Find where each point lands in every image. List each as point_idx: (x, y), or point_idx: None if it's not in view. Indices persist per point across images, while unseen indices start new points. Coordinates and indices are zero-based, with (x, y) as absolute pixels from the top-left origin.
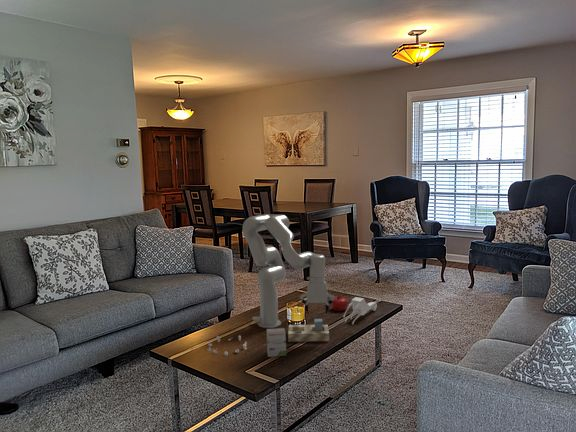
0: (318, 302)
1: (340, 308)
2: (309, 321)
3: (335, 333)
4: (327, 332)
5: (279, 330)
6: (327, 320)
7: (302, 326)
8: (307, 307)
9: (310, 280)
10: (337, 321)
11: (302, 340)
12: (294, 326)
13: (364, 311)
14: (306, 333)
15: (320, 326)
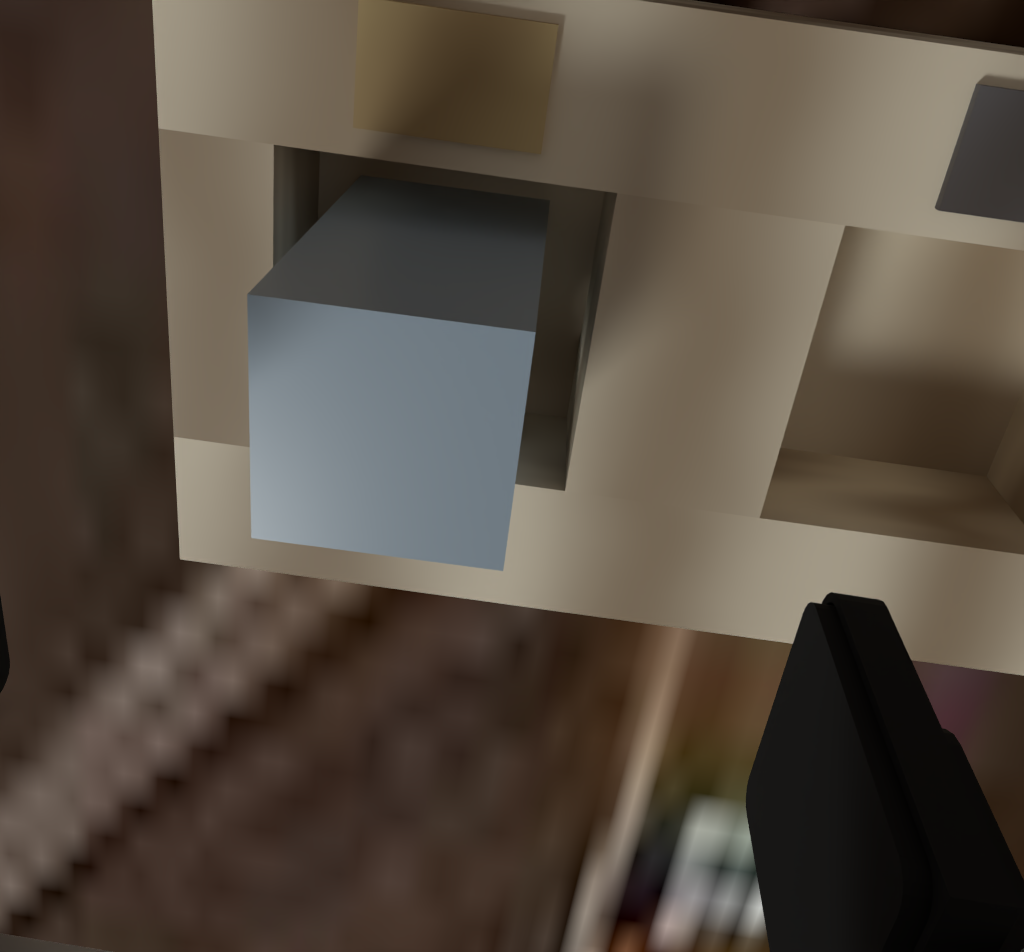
0: (13, 949)
1: None
2: (514, 925)
3: (80, 377)
4: (195, 8)
5: None
6: (219, 910)
7: (799, 550)
8: (928, 798)
9: None
10: (56, 853)
11: (901, 31)
12: (991, 583)
13: None
14: (841, 29)
15: (363, 253)
